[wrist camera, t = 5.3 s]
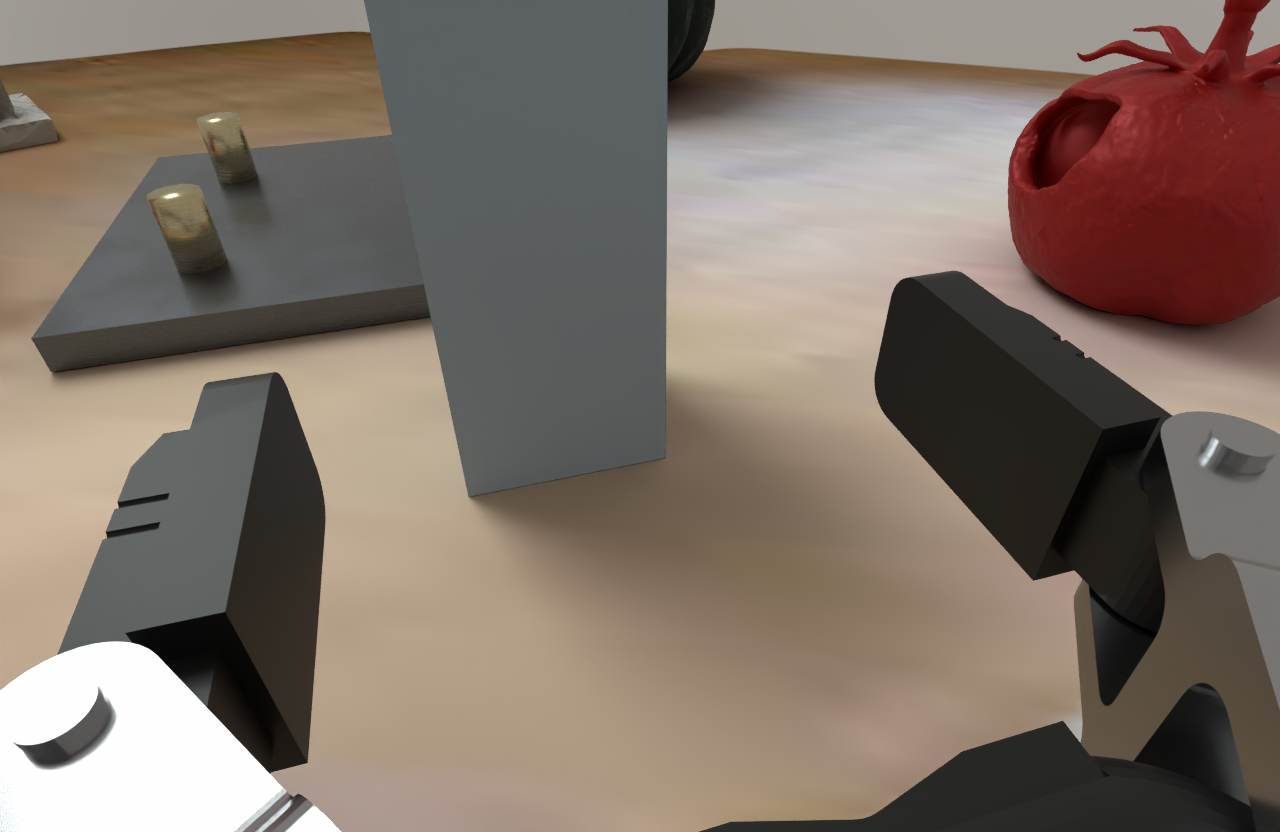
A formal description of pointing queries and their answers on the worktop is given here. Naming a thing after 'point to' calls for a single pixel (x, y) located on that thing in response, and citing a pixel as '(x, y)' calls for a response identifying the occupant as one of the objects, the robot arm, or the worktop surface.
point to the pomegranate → (1159, 180)
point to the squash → (687, 33)
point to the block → (537, 222)
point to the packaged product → (23, 122)
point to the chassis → (243, 252)
